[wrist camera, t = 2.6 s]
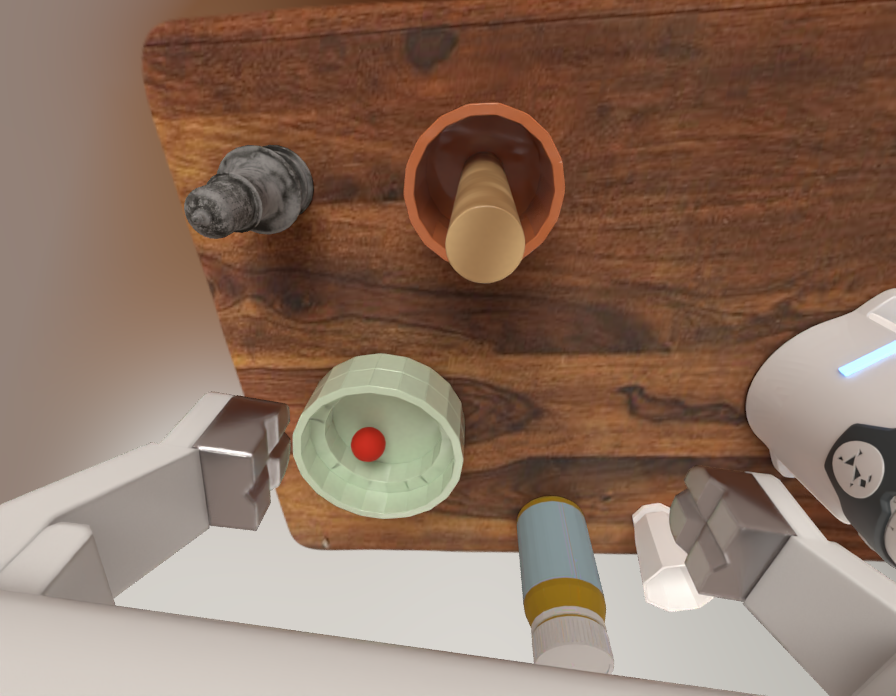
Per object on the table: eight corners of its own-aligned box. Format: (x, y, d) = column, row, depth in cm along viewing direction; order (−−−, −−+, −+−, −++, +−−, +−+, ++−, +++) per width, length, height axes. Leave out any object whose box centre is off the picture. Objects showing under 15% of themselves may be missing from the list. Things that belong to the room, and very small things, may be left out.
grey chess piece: (294, 128, 34) (209, 144, 23) (330, 208, 36) (268, 255, 26) (224, 157, 35) (113, 185, 24) (264, 232, 37) (179, 287, 27)
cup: (628, 489, 48) (654, 558, 41) (727, 500, 48) (770, 571, 41) (610, 537, 51) (631, 608, 44) (703, 547, 51) (738, 621, 44)
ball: (389, 422, 45) (383, 444, 42) (387, 448, 46) (381, 471, 43) (356, 417, 45) (347, 439, 42) (354, 443, 46) (346, 466, 43)
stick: (507, 154, 33) (533, 212, 17) (499, 198, 34) (516, 289, 18) (465, 148, 33) (451, 199, 17) (458, 192, 34) (440, 277, 18)
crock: (561, 111, 32) (584, 116, 25) (531, 244, 37) (543, 280, 30) (427, 89, 32) (412, 88, 25) (413, 226, 36) (397, 258, 29)
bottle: (522, 488, 49) (538, 635, 35) (590, 496, 49) (631, 646, 35) (511, 534, 52) (521, 685, 39) (574, 542, 52) (606, 695, 39)
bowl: (476, 362, 42) (475, 401, 37) (452, 481, 49) (449, 528, 43) (314, 338, 42) (290, 373, 36) (314, 461, 49) (293, 506, 43)
